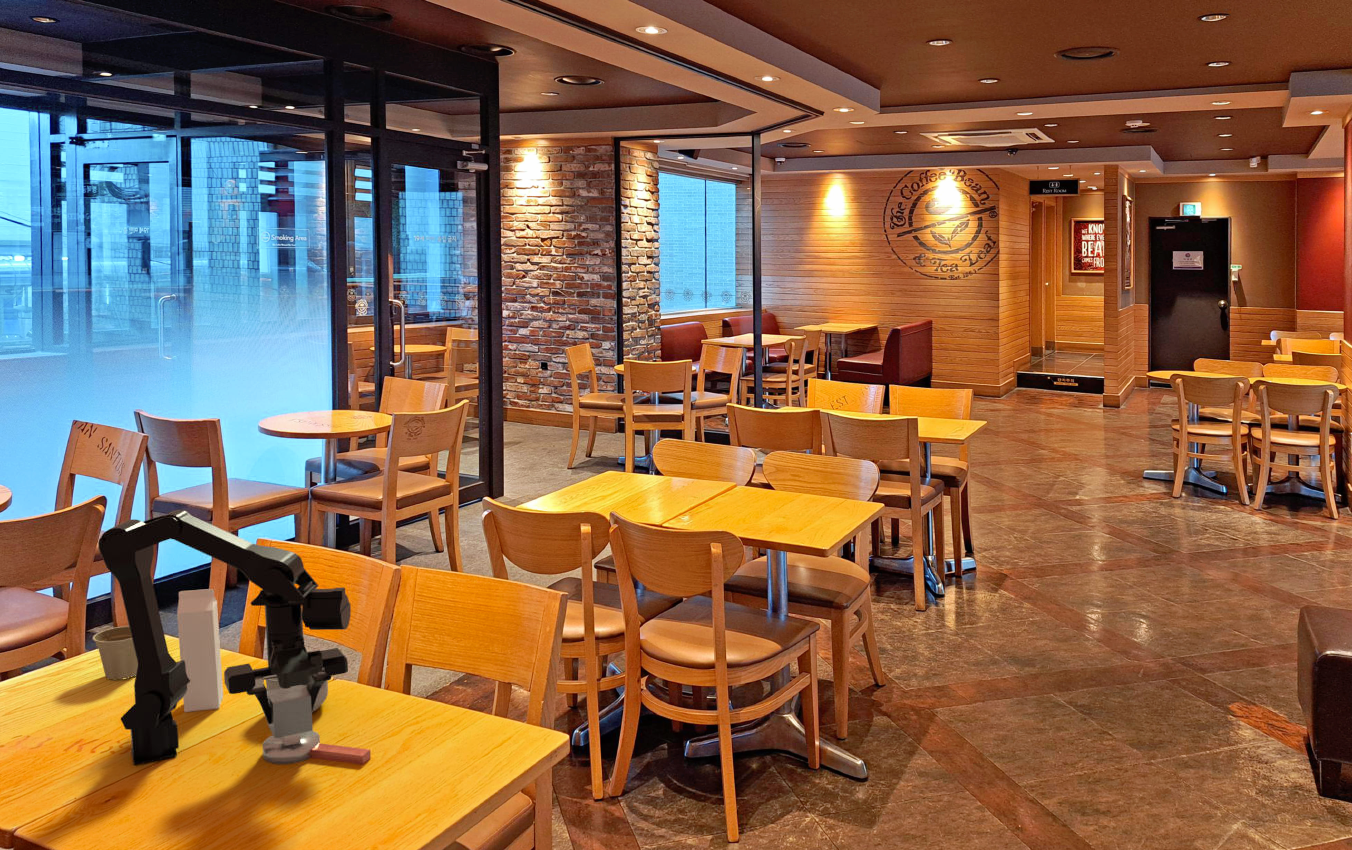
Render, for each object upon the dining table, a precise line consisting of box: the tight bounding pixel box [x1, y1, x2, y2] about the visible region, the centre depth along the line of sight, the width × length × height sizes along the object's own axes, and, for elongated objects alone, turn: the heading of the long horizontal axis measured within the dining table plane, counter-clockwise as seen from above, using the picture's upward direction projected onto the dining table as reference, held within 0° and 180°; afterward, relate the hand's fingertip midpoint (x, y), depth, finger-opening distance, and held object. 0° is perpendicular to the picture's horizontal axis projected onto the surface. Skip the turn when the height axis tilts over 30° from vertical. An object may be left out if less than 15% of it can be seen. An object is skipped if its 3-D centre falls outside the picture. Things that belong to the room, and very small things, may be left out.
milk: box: [176, 588, 224, 713], centre depth 198 cm, size 6×6×22 cm
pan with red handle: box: [262, 730, 372, 765], centre depth 178 cm, size 18×9×5 cm, turn 76°
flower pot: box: [92, 625, 138, 680], centre depth 213 cm, size 9×9×9 cm
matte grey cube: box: [267, 685, 314, 738], centre depth 179 cm, size 6×6×6 cm
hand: (289, 719), depth 179 cm, fingers closed on matte grey cube, 6 cm apart
